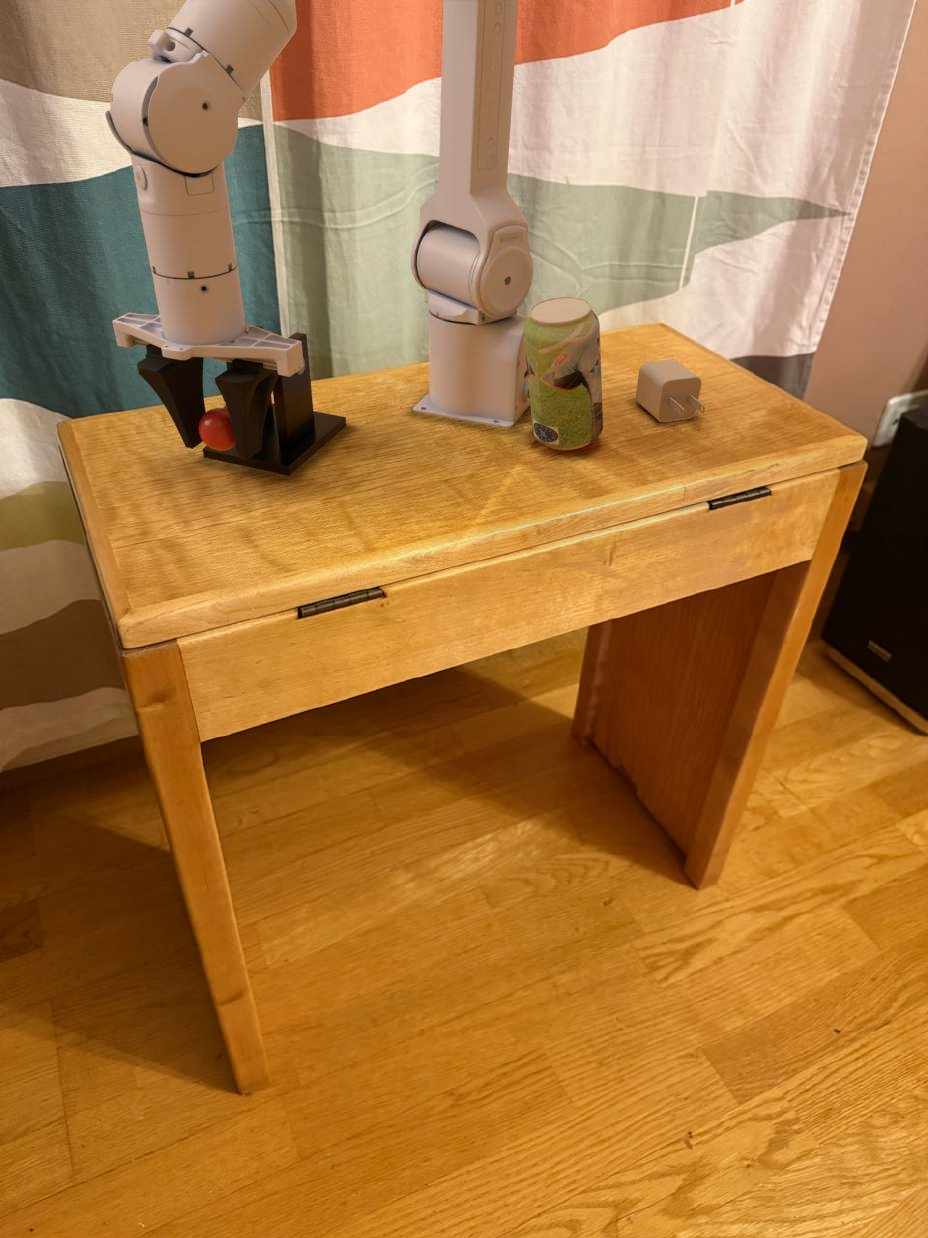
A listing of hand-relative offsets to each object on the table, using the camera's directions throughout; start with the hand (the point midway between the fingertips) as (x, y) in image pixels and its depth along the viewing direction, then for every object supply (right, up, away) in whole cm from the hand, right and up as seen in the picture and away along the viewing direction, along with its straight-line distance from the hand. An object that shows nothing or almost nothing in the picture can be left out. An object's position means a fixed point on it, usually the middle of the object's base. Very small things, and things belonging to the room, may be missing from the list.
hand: (223, 448), depth 70 cm
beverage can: (+27, +2, +9) cm, 28 cm away
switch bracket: (+3, +2, +8) cm, 8 cm away
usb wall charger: (+38, +5, +13) cm, 40 cm away
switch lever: (+2, +3, +2) cm, 4 cm away
